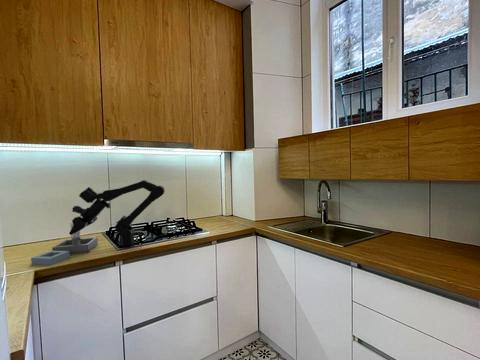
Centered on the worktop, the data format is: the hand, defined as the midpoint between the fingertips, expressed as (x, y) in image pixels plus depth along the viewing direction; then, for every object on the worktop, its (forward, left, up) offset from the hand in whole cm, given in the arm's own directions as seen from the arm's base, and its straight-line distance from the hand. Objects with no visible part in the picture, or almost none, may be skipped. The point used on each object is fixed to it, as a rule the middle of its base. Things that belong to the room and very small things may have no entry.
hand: (73, 232), depth 136 cm
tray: (-1, 0, -9) cm, 9 cm away
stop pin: (-1, 0, -8) cm, 8 cm away
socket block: (-2, +16, -9) cm, 18 cm away
